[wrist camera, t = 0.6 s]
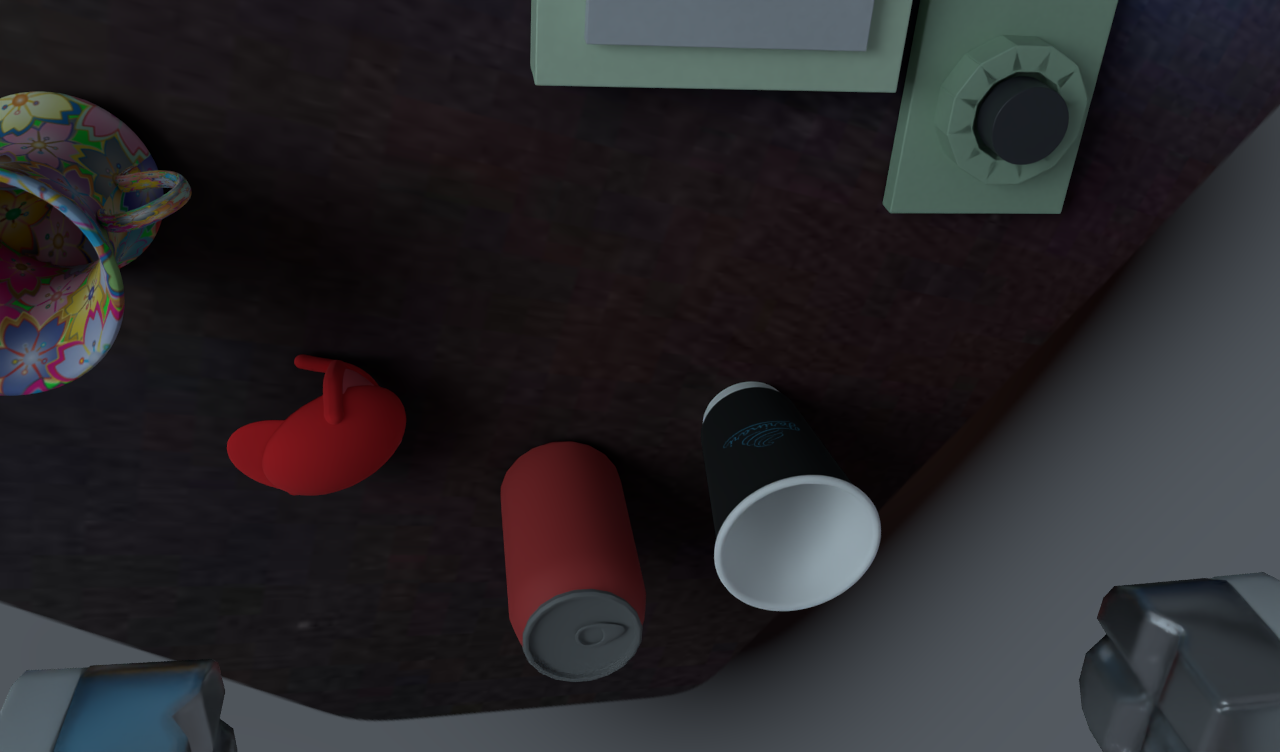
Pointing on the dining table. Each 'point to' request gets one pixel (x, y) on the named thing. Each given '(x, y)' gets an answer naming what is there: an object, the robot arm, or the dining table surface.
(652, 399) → the dining table surface
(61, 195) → the mug
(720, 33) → the scale
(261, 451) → the cap
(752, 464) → the dixie cup
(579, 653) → the beer can
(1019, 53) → the green dial panel
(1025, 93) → the tare button
